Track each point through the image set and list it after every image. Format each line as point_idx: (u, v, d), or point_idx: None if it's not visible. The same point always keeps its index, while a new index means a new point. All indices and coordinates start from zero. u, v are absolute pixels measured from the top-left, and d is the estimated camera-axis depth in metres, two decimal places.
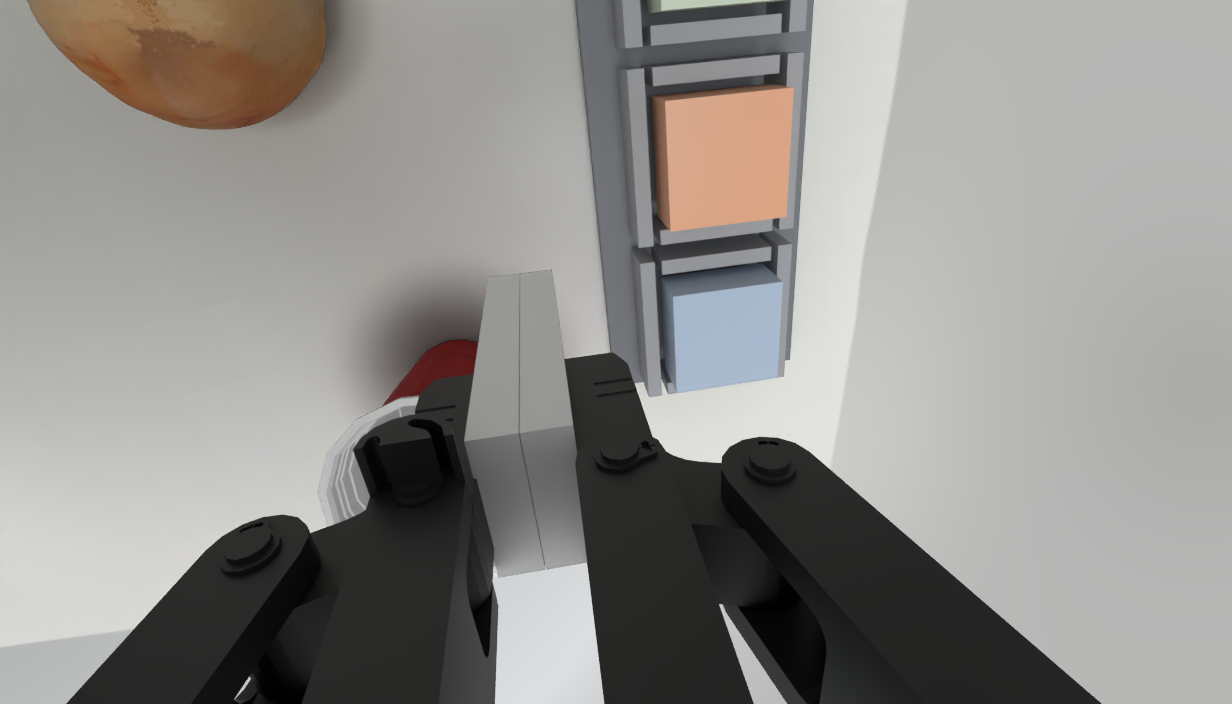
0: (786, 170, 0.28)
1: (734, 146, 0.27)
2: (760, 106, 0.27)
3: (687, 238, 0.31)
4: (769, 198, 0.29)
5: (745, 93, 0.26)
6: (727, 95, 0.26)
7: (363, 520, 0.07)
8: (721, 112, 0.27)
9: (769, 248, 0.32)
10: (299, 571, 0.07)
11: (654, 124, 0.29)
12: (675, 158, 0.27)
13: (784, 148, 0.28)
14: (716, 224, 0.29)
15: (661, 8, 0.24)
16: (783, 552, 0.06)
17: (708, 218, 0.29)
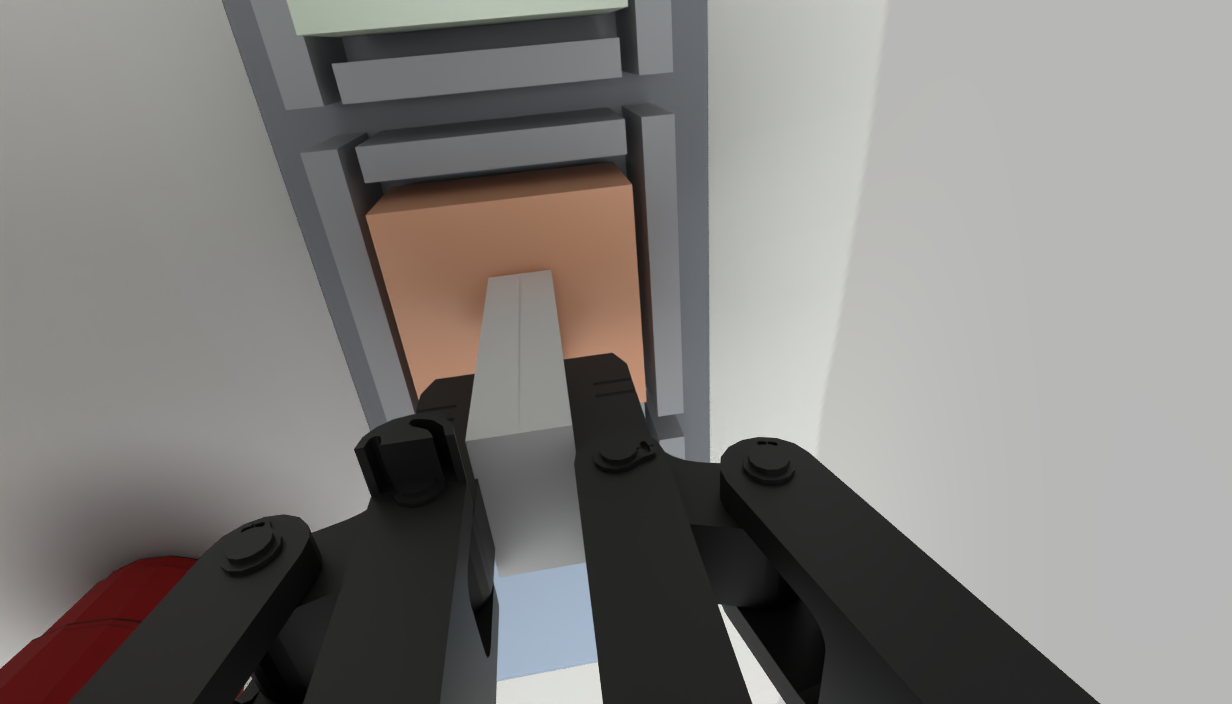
0: (636, 328, 0.15)
1: None
2: (568, 220, 0.14)
3: None
4: None
5: (533, 197, 0.13)
6: (496, 202, 0.13)
7: (365, 518, 0.07)
8: (489, 232, 0.13)
9: None
10: (300, 571, 0.07)
11: None
12: (411, 316, 0.14)
13: (627, 292, 0.15)
14: None
15: (297, 30, 0.10)
16: (782, 552, 0.06)
17: None
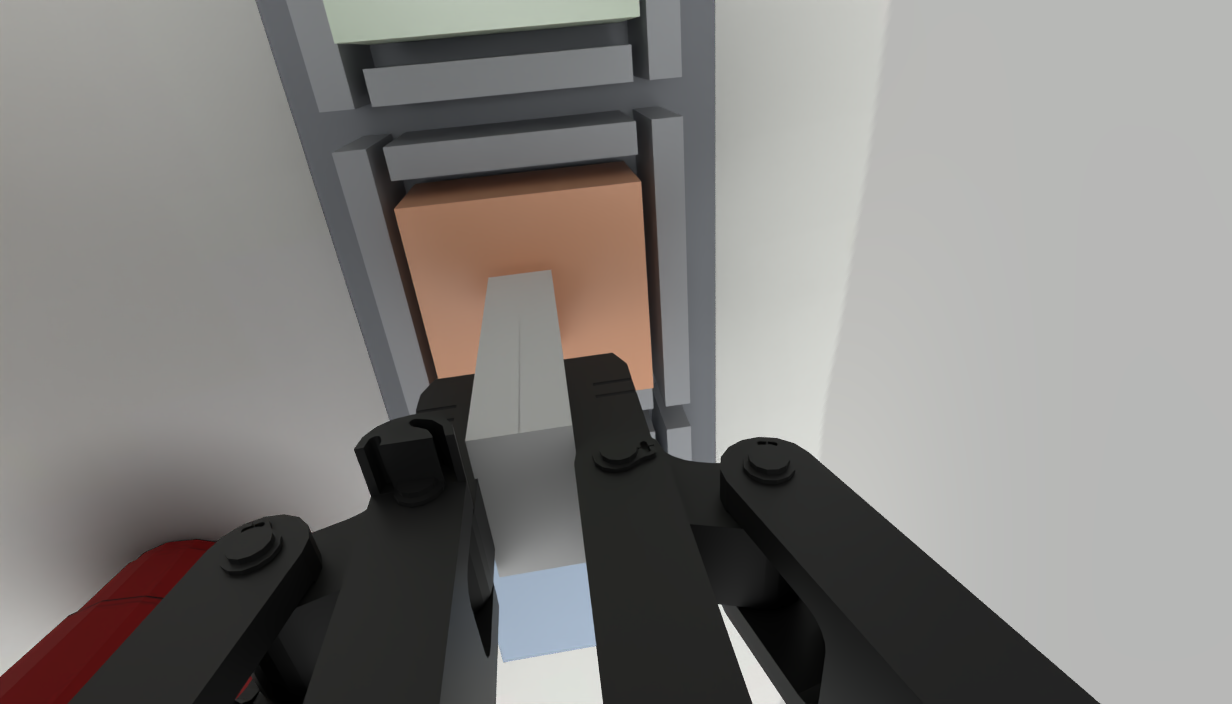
0: (644, 318, 0.16)
1: None
2: (581, 214, 0.15)
3: None
4: None
5: (549, 193, 0.14)
6: (514, 197, 0.14)
7: (364, 520, 0.07)
8: (507, 226, 0.14)
9: (651, 434, 0.19)
10: (300, 571, 0.07)
11: None
12: (433, 304, 0.15)
13: (635, 282, 0.16)
14: None
15: (334, 38, 0.11)
16: (782, 552, 0.06)
17: None
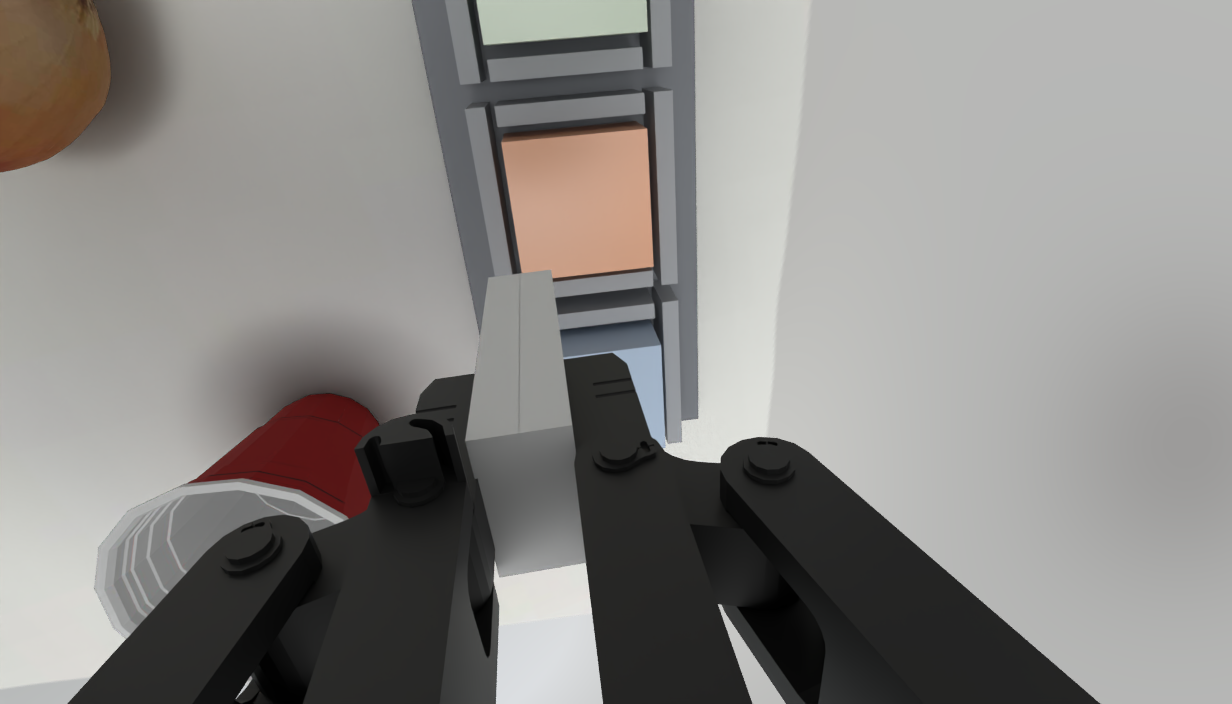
0: (648, 217, 0.26)
1: (586, 191, 0.25)
2: (610, 148, 0.24)
3: (555, 293, 0.28)
4: (632, 246, 0.26)
5: (592, 134, 0.24)
6: (571, 137, 0.24)
7: (365, 519, 0.07)
8: (566, 154, 0.24)
9: (652, 305, 0.29)
10: (300, 571, 0.07)
11: None
12: (519, 203, 0.25)
13: (643, 193, 0.25)
14: (574, 274, 0.27)
15: (483, 42, 0.21)
16: (782, 552, 0.06)
17: (564, 267, 0.26)
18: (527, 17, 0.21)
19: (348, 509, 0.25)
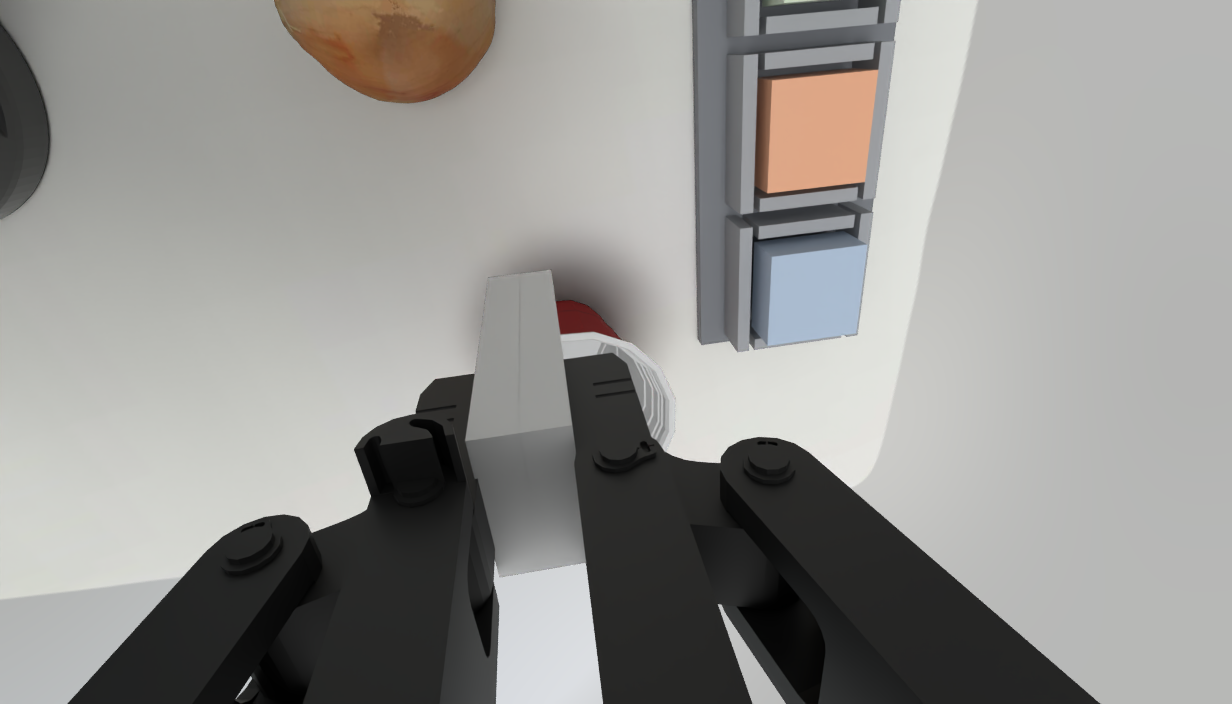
0: (867, 141, 0.33)
1: (826, 120, 0.33)
2: (849, 85, 0.32)
3: (783, 206, 0.35)
4: (852, 165, 0.34)
5: (838, 74, 0.32)
6: (823, 76, 0.31)
7: (365, 518, 0.07)
8: (817, 90, 0.32)
9: (853, 216, 0.36)
10: (300, 571, 0.07)
11: None
12: (776, 129, 0.32)
13: (867, 121, 0.33)
14: (806, 187, 0.34)
15: (784, 1, 0.28)
16: (782, 552, 0.06)
17: (799, 182, 0.34)
18: None
19: None
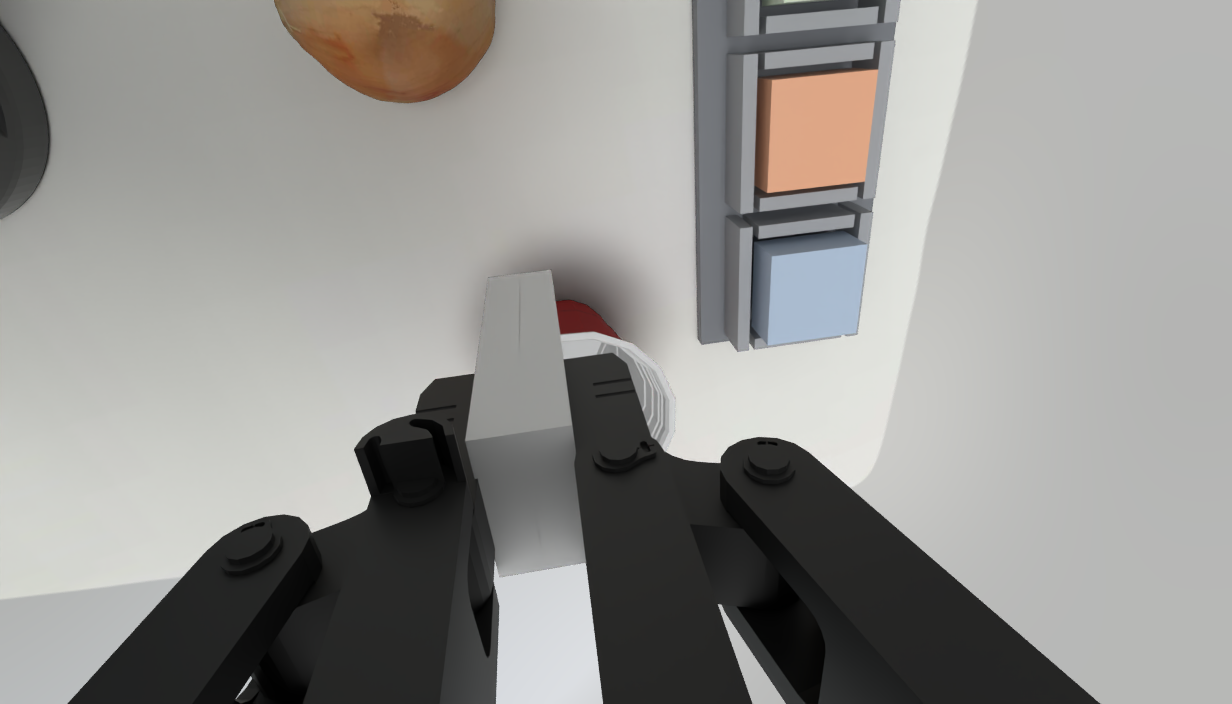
0: (867, 141, 0.33)
1: (826, 119, 0.33)
2: (849, 85, 0.32)
3: (783, 205, 0.35)
4: (851, 164, 0.34)
5: (838, 74, 0.32)
6: (823, 75, 0.31)
7: (365, 519, 0.07)
8: (817, 90, 0.32)
9: (853, 216, 0.36)
10: (300, 571, 0.07)
11: None
12: (776, 129, 0.32)
13: (866, 121, 0.33)
14: (805, 187, 0.34)
15: (784, 0, 0.28)
16: (782, 552, 0.06)
17: (799, 181, 0.34)
18: None
19: None
